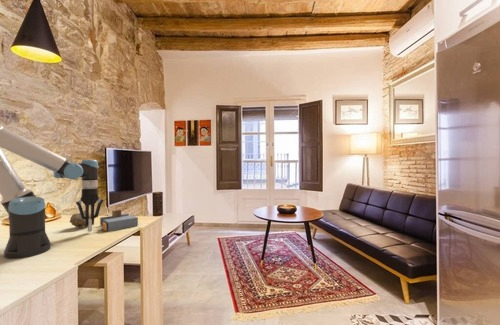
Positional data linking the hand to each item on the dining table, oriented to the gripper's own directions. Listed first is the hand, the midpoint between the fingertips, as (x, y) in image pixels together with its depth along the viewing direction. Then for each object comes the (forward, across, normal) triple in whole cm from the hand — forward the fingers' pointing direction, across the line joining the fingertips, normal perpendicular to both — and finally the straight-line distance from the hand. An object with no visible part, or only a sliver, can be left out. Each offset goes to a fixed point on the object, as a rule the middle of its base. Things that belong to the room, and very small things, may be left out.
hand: (89, 231), depth 136 cm
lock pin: (+1, +14, 0) cm, 14 cm away
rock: (+1, 0, +18) cm, 19 cm away
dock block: (+1, +16, +6) cm, 17 cm away
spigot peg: (+1, +16, +9) cm, 19 cm away
